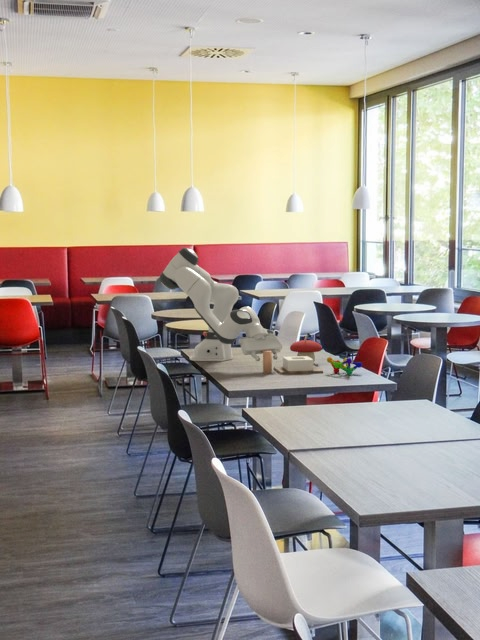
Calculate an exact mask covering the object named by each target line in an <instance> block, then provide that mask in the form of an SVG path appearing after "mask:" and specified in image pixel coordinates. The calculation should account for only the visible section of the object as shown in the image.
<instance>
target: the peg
mask: <svg viewBox="0 0 480 640" xmlns="http://www.w3.org/2000/svg"><path fill="white" fill-rule="evenodd" d="M272 359H273V353H272V351H263V354H262V373H263V374H272V372H273V370H272V369H273V366H272V365H273V364H272V363H273V360H272Z"/></svg>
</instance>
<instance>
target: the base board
mask: <svg viewBox="0 0 480 640" xmlns="http://www.w3.org/2000/svg"><path fill="white" fill-rule="evenodd" d="M273 369H274V371H276V372H277V373H278V374H280V375H303V374H305V375H306V374H324V370H323V369H321V368H319V367H318V366H316V365H314V370H311V371H287V370H286V369H285V368H283V366H273Z"/></svg>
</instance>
